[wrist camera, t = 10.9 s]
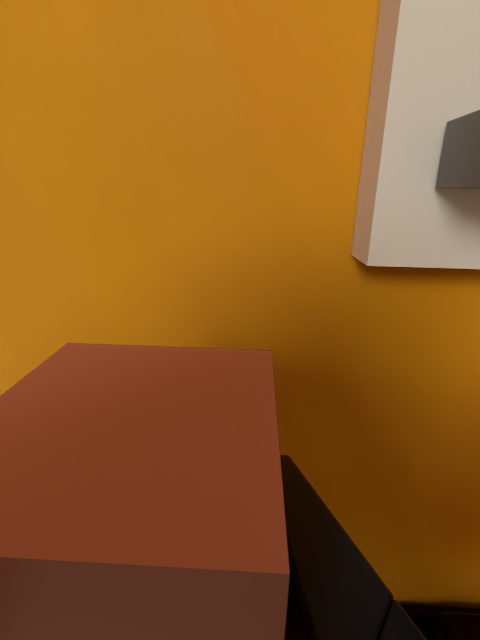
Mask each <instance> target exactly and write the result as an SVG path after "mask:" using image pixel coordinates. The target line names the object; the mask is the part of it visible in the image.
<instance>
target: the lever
mask: <svg viewBox="0 0 480 640" xmlns="http://www.w3.org/2000/svg"><path fill="white" fill-rule="evenodd" d="M436 188H462V189H480V110H478V111H475V112H472V113H470V114H467V115H464V116H462V117H459V118H456V119H454V120H451V121H448V122H447V125H446V130H445V136H444V142H443V148H442V153H441V159H440V165H439V171H438V176H437V182H436Z"/></svg>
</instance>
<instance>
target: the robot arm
mask: <svg viewBox="0 0 480 640" xmlns="http://www.w3.org/2000/svg"><path fill="white" fill-rule="evenodd" d="M280 460H281V472H282V485H283V497H284V509H285V522H286V534H287V546H288V558H289V571H290V577H289V589H288V601H287V613H286V625H285V637H284V640H480V609H467V608H451V607H435V606H419V605H400V604H399V602H398V601H397V600H393V595H392V593H391V592H390V591H389V589H388V588H387V587H386V585H385V584H384V582H383V581H382V580H381V578H380V577H379V576H378V574H377V573H376V572H375V570H374V569H373V568H372V566H371V565H370V564H369V562H368V561H367V560H366V558H365V557H364V556H363V554H362V553H361V552H360V550H359V549H358V548H357V546H356V545H355V544H354V542H353V541H352V540H351V538H350V537H349V536H348V534H347V533H346V532H345V530H344V529H343V528H342V526H341V525H340V524H339V522H338V521H337V520H336V518H335V517H334V516H333V514H332V513H331V512H330V510H329V509H328V508H327V506H326V505H325V504H324V502H323V501H322V499H321V498H320V497H319V495H318V494H317V493H316V491H315V490H314V489H313V487H312V486H311V485H310V483H309V482H308V481H307V479H306V478H305V477H304V475H303V474H302V473H301V471H300V470H299V469H298V467H297V466H296V465H295V463H294V462H293V461H292V459H291V458H290V457H289V456H288V455H280Z"/></svg>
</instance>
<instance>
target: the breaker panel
mask: <svg viewBox="0 0 480 640" xmlns="http://www.w3.org/2000/svg"><path fill="white" fill-rule="evenodd" d="M478 110H480V0H380V8H379V17H378V26H377V35H376V44H375V52H374V61H373V70H372V79H371V88H370V96H369V105H368V114H367V123H366V131H365V140H364V149H363V158H362V167H361V175H360V184H359V193H358V202H357V211H356V219H355V228H354V237H353V246H352V256H353V257H355V258H356V259H358V260H359V261H361V262H362V263H364V264H365V265H366V266H389V267H423V268H457V269H480V189H462V188H436V182H437V176H438V171H439V165H440V159H441V153H442V148H443V142H444V136H445V130H446V125H447V122H448V121H451V120H454V119H456V118H459V117H462V116H464V115H467V114H470V113H472V112H475V111H478Z"/></svg>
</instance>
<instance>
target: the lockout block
mask: <svg viewBox="0 0 480 640" xmlns="http://www.w3.org/2000/svg"><path fill="white" fill-rule="evenodd" d="M289 577H290V571H289V558H288V546H287V534H286V522H285V509H284V497H283V485H282V472H281V460H280V448H279V436H278V423H277V411H276V399H275V386H274V374H273V362H272V350H245V349H218V348H191V347H164V346H137V345H109V344H82V343H67V344H66V345H64V346H63V347H62V348H61V349H59V350H58V351H57V352H56V353H54V354H53V355H52V356H51V357H49V358H48V359H47V360H45V361H44V362H43V363H42V364H40V365H39V366H38V367H37V368H35V369H34V370H33V371H32V372H30V373H29V374H28V375H27V376H25V377H24V378H23V379H21V380H20V381H19V382H18V383H16V384H15V385H14V386H13V387H11V388H10V389H9V390H8V391H6V392H5V393H4V394H2V395H1V396H0V640H284V637H285V625H286V613H287V601H288V589H289Z"/></svg>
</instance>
